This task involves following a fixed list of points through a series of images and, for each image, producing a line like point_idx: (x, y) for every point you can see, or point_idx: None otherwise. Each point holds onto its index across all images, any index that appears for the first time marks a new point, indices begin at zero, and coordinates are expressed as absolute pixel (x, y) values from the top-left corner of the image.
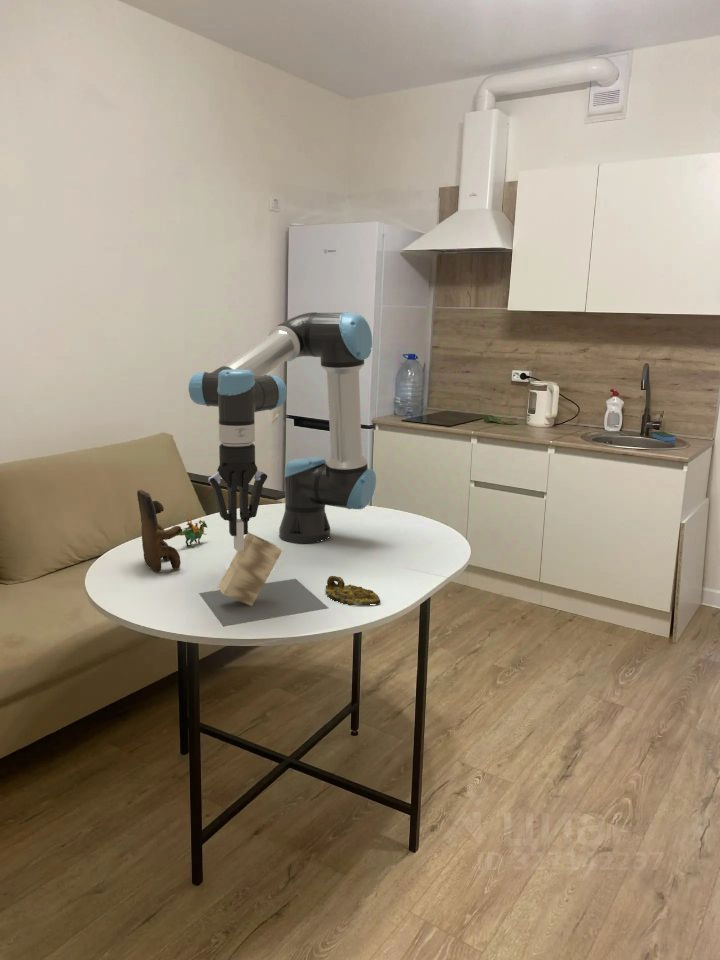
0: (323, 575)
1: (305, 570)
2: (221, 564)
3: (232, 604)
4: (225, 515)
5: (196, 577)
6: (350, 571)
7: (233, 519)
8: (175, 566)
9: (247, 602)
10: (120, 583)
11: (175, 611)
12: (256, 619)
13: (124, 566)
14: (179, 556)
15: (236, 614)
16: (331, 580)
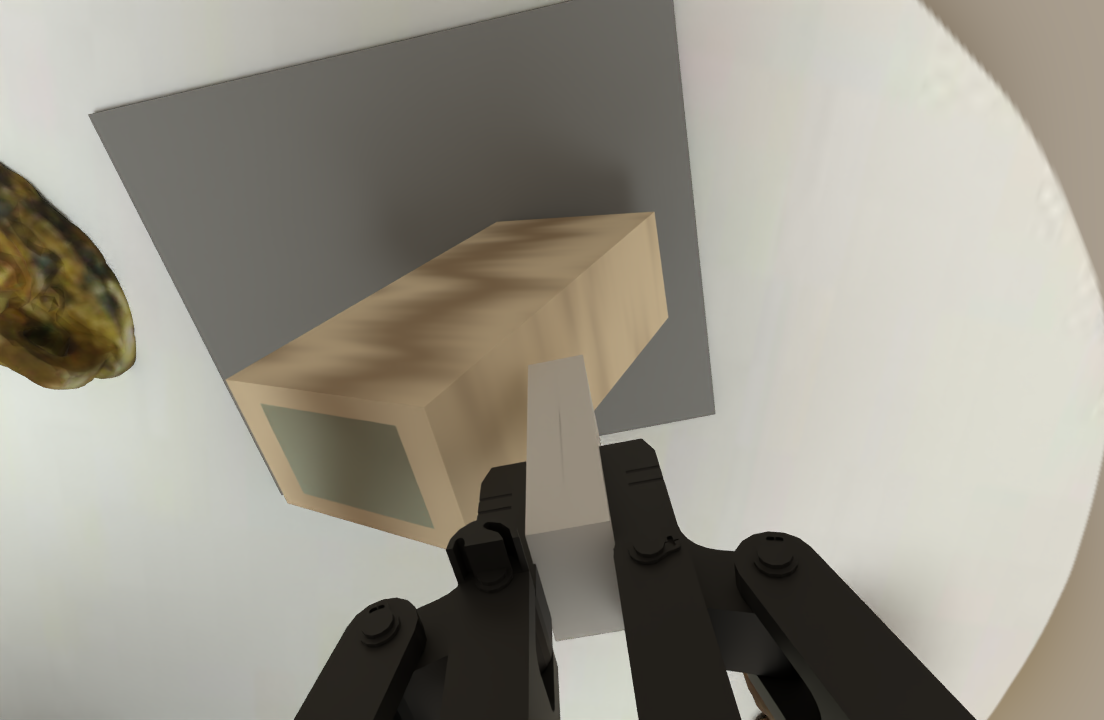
0: (159, 520)
1: (243, 577)
2: (580, 667)
3: None
4: (796, 582)
5: None
6: (37, 542)
7: (662, 545)
8: None
9: (518, 222)
10: (979, 560)
11: (848, 249)
12: (486, 35)
13: None
14: (756, 693)
15: (582, 129)
16: (59, 357)
